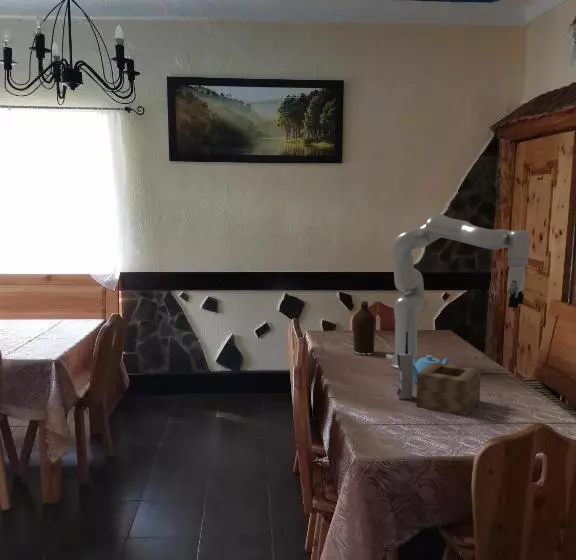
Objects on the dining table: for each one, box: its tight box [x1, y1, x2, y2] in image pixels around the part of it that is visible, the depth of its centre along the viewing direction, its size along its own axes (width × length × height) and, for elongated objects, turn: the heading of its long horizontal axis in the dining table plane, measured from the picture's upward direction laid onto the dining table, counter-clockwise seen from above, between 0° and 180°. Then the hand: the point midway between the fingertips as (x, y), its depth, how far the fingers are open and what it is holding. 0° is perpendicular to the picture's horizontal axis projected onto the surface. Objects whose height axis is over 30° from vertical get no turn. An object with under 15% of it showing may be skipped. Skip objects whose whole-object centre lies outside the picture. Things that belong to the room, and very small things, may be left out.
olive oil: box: [352, 300, 377, 354], centre depth 284 cm, size 11×11×25 cm
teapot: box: [413, 354, 450, 384], centre depth 240 cm, size 15×15×11 cm
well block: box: [416, 362, 482, 417], centre depth 214 cm, size 18×18×12 cm
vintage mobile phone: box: [395, 332, 414, 400], centre depth 220 cm, size 4×5×25 cm
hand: (515, 305), depth 235 cm, fingers open, 9 cm apart
